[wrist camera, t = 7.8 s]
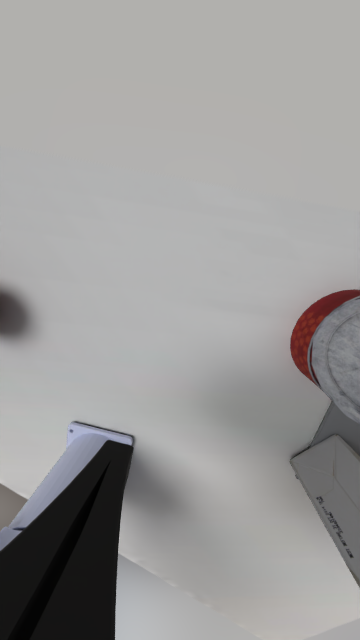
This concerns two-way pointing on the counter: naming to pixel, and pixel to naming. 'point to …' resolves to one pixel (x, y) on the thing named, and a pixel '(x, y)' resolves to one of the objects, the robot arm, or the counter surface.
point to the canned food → (332, 348)
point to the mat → (338, 429)
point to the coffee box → (335, 493)
